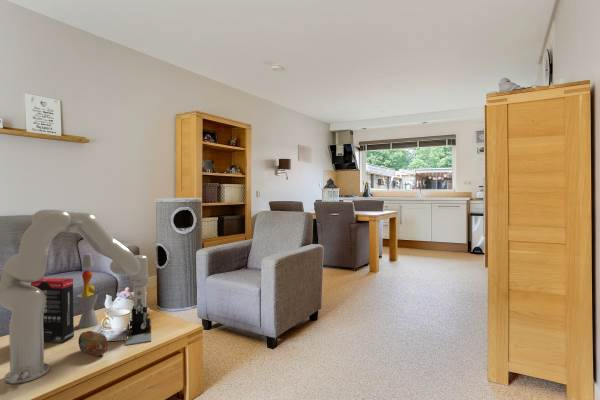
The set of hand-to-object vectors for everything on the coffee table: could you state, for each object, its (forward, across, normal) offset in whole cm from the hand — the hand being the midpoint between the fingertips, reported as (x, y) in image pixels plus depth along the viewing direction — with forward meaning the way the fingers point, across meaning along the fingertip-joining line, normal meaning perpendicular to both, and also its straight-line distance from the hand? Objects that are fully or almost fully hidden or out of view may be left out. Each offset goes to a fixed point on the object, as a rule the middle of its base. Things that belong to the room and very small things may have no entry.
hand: (139, 318), depth 162 cm
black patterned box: (+6, 0, 0) cm, 6 cm away
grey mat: (+6, -10, 0) cm, 12 cm away
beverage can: (+6, 0, 0) cm, 7 cm away
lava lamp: (+6, +19, +24) cm, 31 cm away
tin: (+6, -17, +17) cm, 25 cm away
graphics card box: (+6, +5, +36) cm, 37 cm away
